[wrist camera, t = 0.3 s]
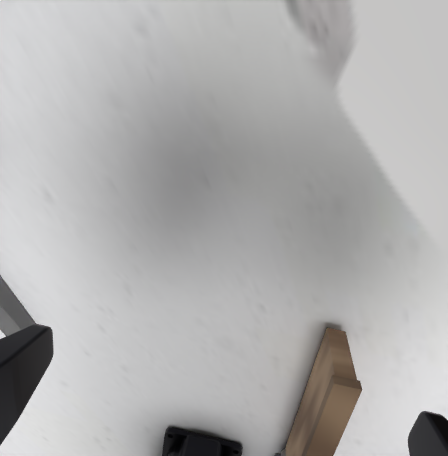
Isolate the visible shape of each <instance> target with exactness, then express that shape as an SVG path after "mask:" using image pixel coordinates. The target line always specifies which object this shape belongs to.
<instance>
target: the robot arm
mask: <svg viewBox="0 0 448 456" xmlns="http://www.w3.org/2000/svg"><path fill="white" fill-rule="evenodd" d="M52 357H53V333H52V329H51V328H50V327H48V326H44V325H39V324H33V325H30V326H28V327H26V328H24V329H22V330H19V331H17V332H15V333H13V334H11V335H8V336H6V337H4V338H2V339H0V445H1V444H2V442H3V441H4V439H5V438H6V436H7V435H8V434H9V432H10V431H11V429H12V428H13V426H14V425H15V423H16V422H17V420H18V419H19V417H20V415H21V414H22V412H23V410H24V408H25V407H26V405H27V403H28V401H29V400H30V398H31V396H32V394H33V392H34V391H35V389H36V387H37V385H38V384H39V382H40V380H41V378H42V377H43V375H44V373H45V371H46V370H47V368H48V366H49V364H50V362H51V360H52ZM408 447H409V453H410V456H448V420H447V419H446V418H445V417H443V416H442V415H440V414H436V413H432V412H427V411H423V412H421V413H420V414H419V416H418V418H417V420H416V422H415V424H414V426H413V427H412V429H411V431H410V433H409V437H408ZM241 455H242V446H241V445H240V444H238V443H234V442H229V441H225V440H221V439H217V438H213V437H209V436H205V435H200V434H196V433H192V432H188V431H184V430H180V429H176V428H167V429H166V432H165V437H164V445H163V453H162V456H241Z"/></svg>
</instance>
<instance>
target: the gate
mask: <svg viewBox="0 0 448 456" xmlns="http://www.w3.org/2000/svg"><path fill="white" fill-rule="evenodd" d="M361 391H362V387H361V383H360V381H358V380H357V378H356V374H355V369H354V365H353V361H352V357H351V353H350V349H349V344H348V340H347V336H346V332H345V331H340V330H335V329H331V328H327V329H326V331H325V334H324V337H323V340H322V343H321V346H320V349H319V352H318V355H317V357H316V360H315V363H314V366H313V369H312V372H311V375H310V378H309V381H308V383H307V386H306V389H305V392H304V395H303V398H302V401H301V404H300V407H299V409H298V412H297V415H296V418H295V421H294V424H293V427H292V430H291V433H290V435H289V438H288V441H287V444H286V449H283V450H282V451H281V456H333V455H334V453H335V450H336V448H337V446H338V444H339V441H340V439H341V437H342V435H343V432H344V430H345V428H346V425H347V423H348V421H349V419H350V416H351V414H352V412H353V410H354V407H355V405H356V403H357V400H358V398H359V396H360V394H361Z"/></svg>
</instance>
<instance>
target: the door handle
mask: <svg viewBox="0 0 448 456" xmlns="http://www.w3.org/2000/svg"><path fill="white" fill-rule="evenodd" d="M33 324H36V323H35V322H34V320H33V319H32V318H31V316H30V315H29V314H28V312H27V311H26V309H25V308H24V307H23V305H22V304H21V303H20V301H19V300H18V299H17V297H16V296H15V295H14V293H13V292H12V291H11V289H10V288H9V287H8V285H7V284H6V283H5V281H4V280H3V278H2V277H1V276H0V330H1V331H2V332H3V333H4V334H5V335H6V336H8V335H11V334H13V333H15V332H17V331H19V330H22V329H24V328H26V327H28V326H30V325H33Z"/></svg>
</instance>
